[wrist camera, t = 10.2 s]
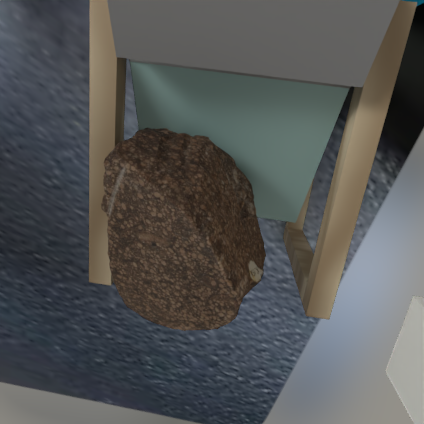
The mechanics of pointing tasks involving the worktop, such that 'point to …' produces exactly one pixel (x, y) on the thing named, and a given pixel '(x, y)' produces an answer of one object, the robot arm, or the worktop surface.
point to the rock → (180, 229)
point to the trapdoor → (251, 79)
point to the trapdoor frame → (339, 190)
